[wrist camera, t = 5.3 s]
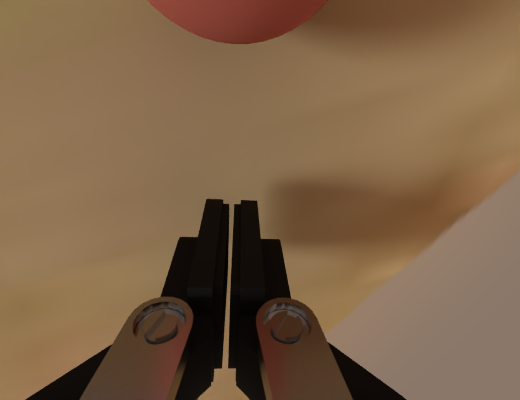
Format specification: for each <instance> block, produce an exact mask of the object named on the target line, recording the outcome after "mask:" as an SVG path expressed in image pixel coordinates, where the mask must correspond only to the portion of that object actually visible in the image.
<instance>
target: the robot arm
mask: <svg viewBox="0 0 520 400" xmlns="http://www.w3.org/2000/svg"><path fill="white" fill-rule="evenodd" d="M228 243H229V204H223V200H221V199H206V203H205V208H204V212H203V217H202V221H201V226H200V230H199V235H198V237H180V238H179V240H178V243H177V246H176V249H175V253H174V256H173V259H172V262H171V265H170V269H169V272H168V275H167V278H166V281H165V284H164V288H163V291H162V294H161V297H159V298H154V299H151V300H149V301H147V302H145V303H143V304H141V305H140V306H139V307H137V308H136V309H135V310H134V311H133V312H132V313H131V315H130V316H129V317H128V319H127V320H126V322H125V324H124V325H123V327H122V329H121V331H120V332H119V334H118V336H117V337H116V339H115V341H114V342H113V344H112V345H110V346H108V347H107V348H105V349H104V350H102V351H101V352H99V353H98V354H96V355H94V356H93V357H91V358H90V359H88V360H87V361H85V362H83V363H82V364H80V365H79V366H77V367H76V368H74V369H72V370H71V371H69V372H68V373H66V374H65V375H63V376H62V377H60V378H58V379H57V380H55V381H54V382H52V383H51V384H49V385H47V386H46V387H44V388H43V389H41V390H40V391H38V392H37V393H35V394H33V395H32V396H30V397H29V398H27V399H26V400H198V397H199V396H200V395H201V394H202V393H204V392H205V391H206V390H207V389H208V388H209V387H210V386H211V382H213V378H214V369H217V368H222V358H223V342H224V326H225V310H226V294H227V277H228ZM228 368H236V385H237V386H238V387H239V389H240V390H241V391H242V392H243V393H244V394H245V395H246V396H247V397H248V398H249V400H406V399H405V398H404V397H403V396H401V395H400V394H398V393H397V392H396V391H394V390H393V389H392V388H390V387H389V386H387V385H386V384H385V383H383V382H382V381H381V380H379V379H378V378H376V377H375V376H374V375H372V374H371V373H370V372H368V371H367V370H366V369H364V368H363V367H362V366H360V365H359V364H357V363H356V362H355V361H353V360H352V359H351V358H349V357H348V356H346V355H345V354H344V353H342V352H341V351H340V350H338V349H337V348H335V347H334V346H333V345H331V344H330V343H328V342H327V340H326V338H325V335H324V333H323V331H322V329H321V326H320V324H319V322H318V320H317V318H316V316H315V314H314V313H313V311H312V310H311V309H310V308H309V307H307V306H306V305H305V304H303V303H301V302H299V301H298V300H294V299H291V295H290V290H289V285H288V279H287V274H286V269H285V263H284V258H283V253H282V247H281V242H280V240H279V239H261V238H260V227H259V216H258V205H257V201H249V200H241V204H234V225H233V247H232V268H231V291H230V325H229V359H228Z"/></svg>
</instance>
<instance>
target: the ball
mask: <svg viewBox="0 0 520 400" xmlns="http://www.w3.org/2000/svg"><path fill="white" fill-rule="evenodd" d="M148 1H149V2H150V3H151V4H152V5H153V6H154V7H155V8H156V9H157V10H158V11H159V12H161V13H162V14H163V15H165V16H166V17H167V18H168V19H170V20H171V21H173V22H174V23H176V24H177V25H179V26H181V27H182V28H184V29H186V30H187V31H189V32H192V33H194V34H196V35H198V36H201V37H203V38H206V39H210V40H213V41H217V42H223V43H230V44H250V43H256V42H263V41H266V40H269V39H272V38H276V37H278V36H280V35H282V34H285V33H287V32H289V31H291V30H293V29H294V28H296V27H297V26H299V25H300V24H302V23H303V22H305V21H306V20H307V19H309V18H310V17H311V16H312V15H313V14H314V13H316V12H317V11H318V10H319V9H320V8H321V7H322V6H323V5H324V4H325V3H326V2H327V1H328V0H148Z"/></svg>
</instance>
